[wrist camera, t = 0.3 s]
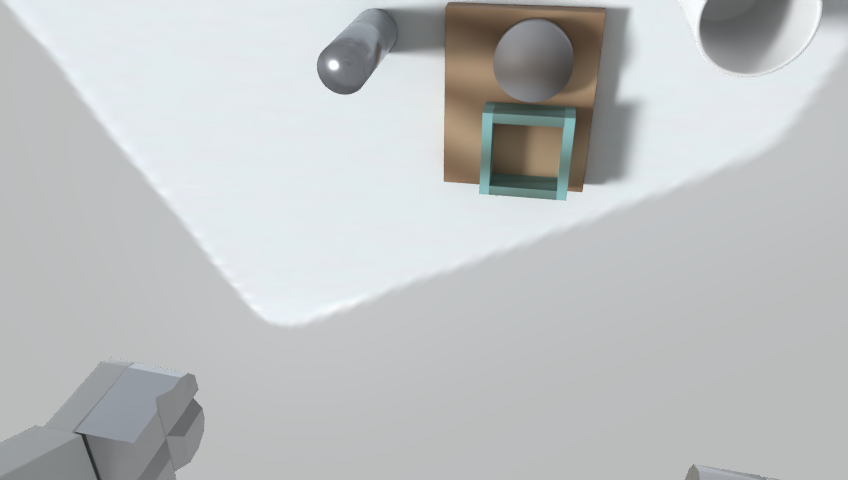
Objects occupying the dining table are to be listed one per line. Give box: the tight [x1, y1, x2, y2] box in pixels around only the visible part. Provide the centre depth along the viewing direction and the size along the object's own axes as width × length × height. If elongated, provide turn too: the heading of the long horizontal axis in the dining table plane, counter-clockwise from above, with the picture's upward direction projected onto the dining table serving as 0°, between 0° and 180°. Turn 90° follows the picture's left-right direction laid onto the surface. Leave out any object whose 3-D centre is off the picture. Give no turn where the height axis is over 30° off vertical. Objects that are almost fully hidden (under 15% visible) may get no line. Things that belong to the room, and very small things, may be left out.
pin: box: [317, 9, 397, 94], centre depth 52 cm, size 4×4×10 cm
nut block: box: [444, 3, 606, 200], centre depth 55 cm, size 15×12×4 cm
